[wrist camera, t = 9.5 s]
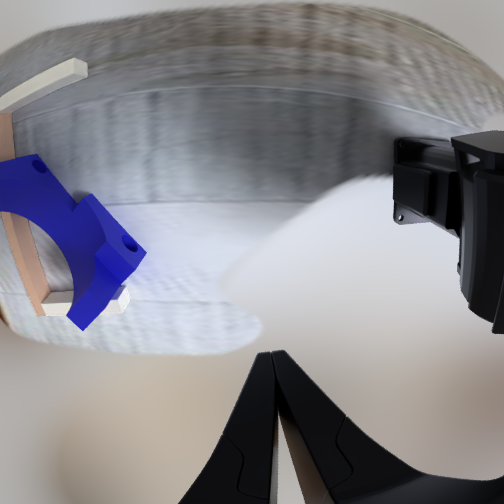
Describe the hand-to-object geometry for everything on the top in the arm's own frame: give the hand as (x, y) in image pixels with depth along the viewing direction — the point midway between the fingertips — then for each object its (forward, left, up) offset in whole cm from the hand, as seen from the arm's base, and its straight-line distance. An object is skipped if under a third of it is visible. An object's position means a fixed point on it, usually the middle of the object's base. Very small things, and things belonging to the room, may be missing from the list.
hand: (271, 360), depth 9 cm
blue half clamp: (+13, -3, -12) cm, 18 cm away
